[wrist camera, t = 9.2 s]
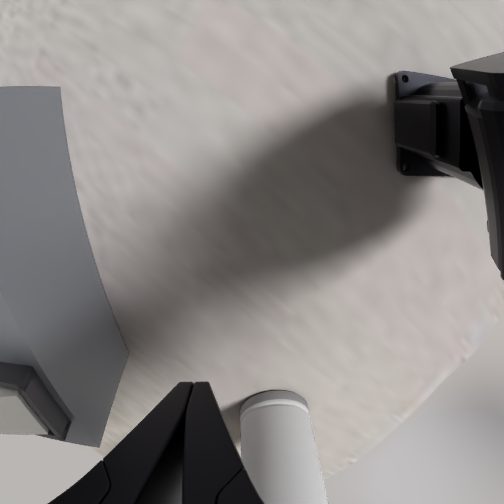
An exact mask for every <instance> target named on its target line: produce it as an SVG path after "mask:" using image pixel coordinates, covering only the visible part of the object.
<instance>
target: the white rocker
mask: <svg viewBox="0 0 504 504" xmlns="http://www.w3.org/2000/svg"><path fill="white" fill-rule="evenodd" d="M48 430H49V428H48V426H47V425H46V424H45V423H44V422H43V421H42V419H41V418H40V417H39V416H38V414H37V413H36V412H35V411H34V409H33V408H32V407H31V405H30V404H29V403H28V402H27V400H26V399H25V398H24V396H23V395H22V393H21V392H20V391H19V390H14V389H9V388H4V387H0V434H23V435H24V434H25V435H29V434H34V435H35V434H48Z"/></svg>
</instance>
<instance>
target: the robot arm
mask: <svg viewBox="0 0 504 504" xmlns="http://www.w3.org/2000/svg"><path fill="white" fill-rule="evenodd" d="M450 69H451V72H452V75H453V77H454V79H456V80H454V79H450V78H445V77H439V76H434V75H428V74H423V73H416V72H409V71H399V72H397V73H396V75H395V86H396V102H395V103H394V111H395V143H396V144H397V170H398V172H399V173H401V174H403V175H406V176H453V177H455V178H458V179H460V180H462V181H464V182H467V183H469V184H471V185H473V186H475V187H477V188H480V189H482V190H484V195H485V202H486V209H487V218H488V221H487V228H488V232H489V239H490V249H491V256H492V258H493V260H494V262H495V264H496V265H497V267H498V269H499V270H500V271H501V278H502V279H503V280H504V52H502V53H498V54H494V55H491V56H487V57H483V58H479V59H476V60H472V61H469V62H465V63H462V64H459V65H455V66H452V67H450ZM402 76H404V77H405V79H406V81H405V82H403V81H402ZM405 164H407V169H406V170H403V166H404V165H405ZM48 504H265V503H264V502H263V500H262V499H261V497H260V496H259V494H258V492H257V490H256V488H255V486H254V485H253V483H252V481H251V479H250V477H249V474H248V472H247V470H246V469H245V466H244V464H243V462H242V460H241V458H240V455H239V453H238V451H237V449H236V446H235V444H234V442H233V440H232V437H231V435H230V433H229V430H228V428H227V426H226V423H225V421H224V418H223V416H222V414H221V411H220V409H219V406H218V404H217V401H216V399H215V396H214V394H213V391H212V389H211V386H210V384H209V382H195V383H193V382H180V383H178V384H177V385H176V386H175V387H174V388H173V389H172V390H171V391H170V392H169V393H168V394H167V396H166V397H165V398H164V399H163V400H162V401H161V402H160V403H159V404H158V405H157V406H156V407H155V408H154V409H153V410H152V411H151V412H150V413H149V414H148V415H147V416H146V417H145V418H144V419H143V420H142V421H141V422H140V423H139V424H138V425H137V426H136V427H135V428H134V429H133V430H132V431H131V432H130V433H129V434H128V435H127V436H126V437H125V438H124V439H123V440H122V441H121V442H120V443H119V444H118V445H117V446H116V447H115V448H114V449H113V450H112V451H111V452H110V453H109V454H108V455H107V456H106V457H105V458H103V461H100V462H99V463H98V464H97V465H96V466H95V467H93V468H92V469H91V470H90V471H89V472H88V473H87V474H86V475H85V476H84V477H82V478H81V479H80V480H79V481H78V482H76V483H75V484H74V485H73V486H71V487H70V488H69V489H67V490H66V491H65V492H64V493H62V494H61V495H59V496H58V497H56V498H55V499H54V500H52V501H51V502H50V503H48Z"/></svg>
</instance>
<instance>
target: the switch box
mask: <svg viewBox="0 0 504 504" xmlns="http://www.w3.org/2000/svg"><path fill="white" fill-rule="evenodd" d="M128 355H129V353H128V350H127V348H126V346H125V343H124V341H123V338H122V336H121V333H120V331H119V328H118V326H117V323H116V321H115V318H114V315H113V313H112V310H111V307H110V305H109V302H108V299H107V296H106V293H105V291H104V288H103V285H102V282H101V279H100V276H99V273H98V269H97V266H96V263H95V260H94V257H93V253H92V250H91V246H90V243H89V239H88V236H87V232H86V229H85V225H84V221H83V217H82V213H81V209H80V205H79V201H78V196H77V192H76V187H75V183H74V178H73V173H72V168H71V162H70V157H69V151H68V145H67V139H66V133H65V126H64V118H63V110H62V101H61V91H60V87H49V86H10V87H0V387H4V388H9V389H14V390H19V391H20V392H21V393H22V395H23V396H24V398H25V399H26V400H27V402H28V403H29V404H30V405H31V407H32V408H33V409H34V411H35V412H36V413H37V414H38V416H39V417H40V418H41V419H42V421H43V422H44V423H45V424H46V425H47V426H48V428H49V430H48V434H35V435H38V436H42V437H47V438H51V439H55V440H60V441H65V442H70V443H75V444H81V445H86V446H92V447H100V444H101V440H102V437H103V433H104V430H105V426H106V423H107V420H108V416H109V413H110V410H111V407H112V403H113V400H114V397H115V394H116V391H117V388H118V385H119V382H120V379H121V376H122V373H123V370H124V367H125V364H126V361H127V358H128Z"/></svg>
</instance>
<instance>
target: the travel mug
mask: <svg viewBox="0 0 504 504" xmlns="http://www.w3.org/2000/svg"><path fill="white" fill-rule="evenodd" d="M240 434H241V460H242V462H243V464H244V466H245V469H246V470H247V472H248V474H249V477H250V479H251V481H252V483H253V485H254V486H255V488H256V490H257V492H258V494H259V496H260V497H261V499H262V500H263V502H264V503H265V504H328V500H327V495H326V490H325V485H324V480H323V475H322V470H321V466H320V461H319V456H318V451H317V447H316V442H315V437H314V433H313V428H312V423H311V419H310V414H309V410H308V405H307V402H306V400H305V399H304V398H303V397H302V396H300V395H299V394H296V393H294V392H290V391H283V390H276V391H267V392H263V393H260V394H257V395H255V396H253V397H251V398H249V399H248V400H247V401H245V403H244V404H243V405H242V407H241V409H240Z"/></svg>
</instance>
